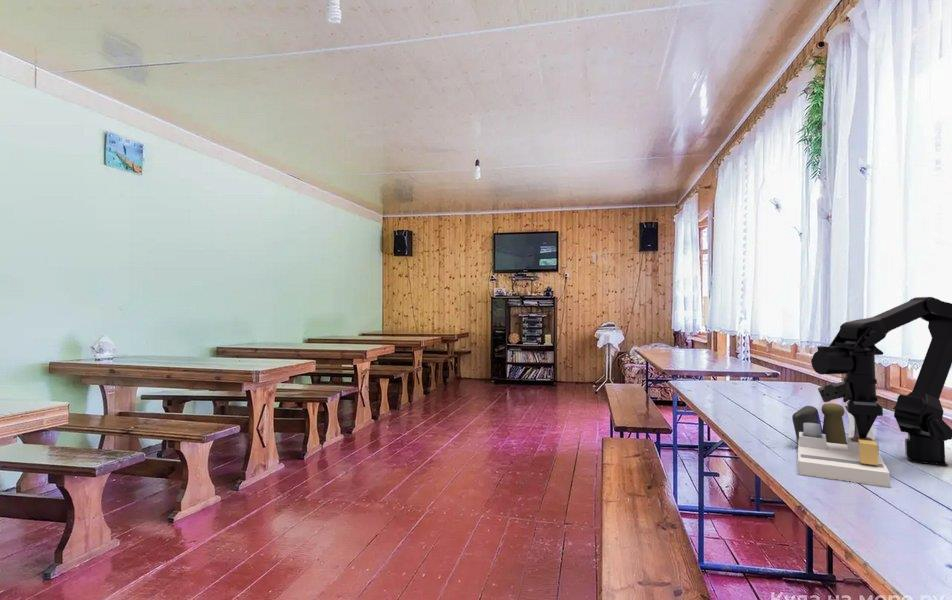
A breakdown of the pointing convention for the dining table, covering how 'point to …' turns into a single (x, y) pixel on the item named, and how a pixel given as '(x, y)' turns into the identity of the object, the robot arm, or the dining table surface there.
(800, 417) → the leaning round-cornered charcoal block
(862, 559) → the dining table surface
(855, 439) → the walnut button
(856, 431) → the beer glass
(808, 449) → the control panel
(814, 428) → the grey button
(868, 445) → the tan wooden brick
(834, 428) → the olive knobbed pillar
